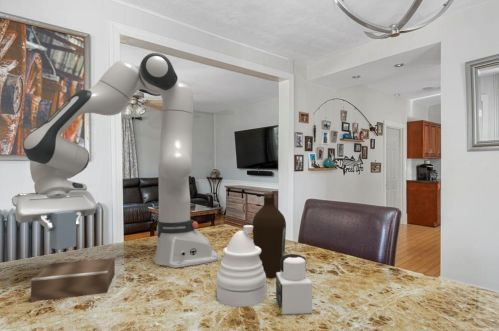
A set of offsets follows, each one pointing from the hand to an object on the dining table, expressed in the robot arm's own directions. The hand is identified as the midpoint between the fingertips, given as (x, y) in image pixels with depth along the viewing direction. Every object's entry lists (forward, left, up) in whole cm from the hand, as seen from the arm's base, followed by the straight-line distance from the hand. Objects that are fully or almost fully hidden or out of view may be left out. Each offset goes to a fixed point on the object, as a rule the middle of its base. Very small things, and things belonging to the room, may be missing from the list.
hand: (64, 228), depth 83 cm
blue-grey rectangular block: (0, -1, -5) cm, 5 cm away
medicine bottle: (-56, +33, -16) cm, 67 cm away
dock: (-4, +4, -16) cm, 17 cm away
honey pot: (-46, +23, -16) cm, 54 cm away
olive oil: (-59, +10, -16) cm, 62 cm away
